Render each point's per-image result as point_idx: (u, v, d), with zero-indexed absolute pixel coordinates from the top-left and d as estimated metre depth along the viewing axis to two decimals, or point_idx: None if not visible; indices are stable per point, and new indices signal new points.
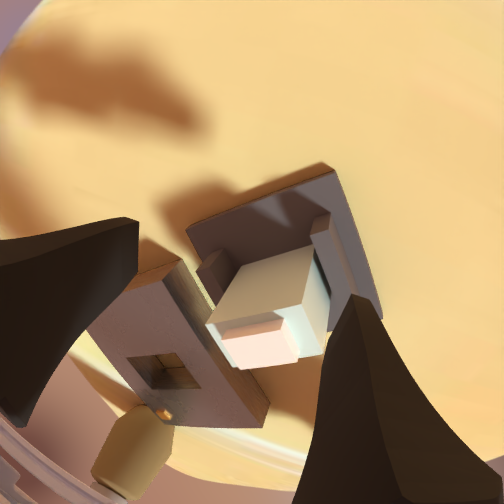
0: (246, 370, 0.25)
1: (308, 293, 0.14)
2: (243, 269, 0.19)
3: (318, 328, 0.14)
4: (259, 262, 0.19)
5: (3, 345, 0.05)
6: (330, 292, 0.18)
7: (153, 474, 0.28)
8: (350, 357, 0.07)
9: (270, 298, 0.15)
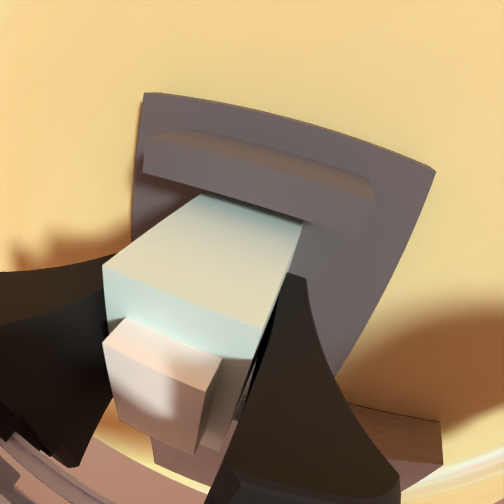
0: (367, 412, 0.14)
1: (155, 240, 0.06)
2: None
3: (218, 283, 0.06)
4: None
5: (62, 392, 0.05)
6: None
7: None
8: (269, 331, 0.07)
9: None
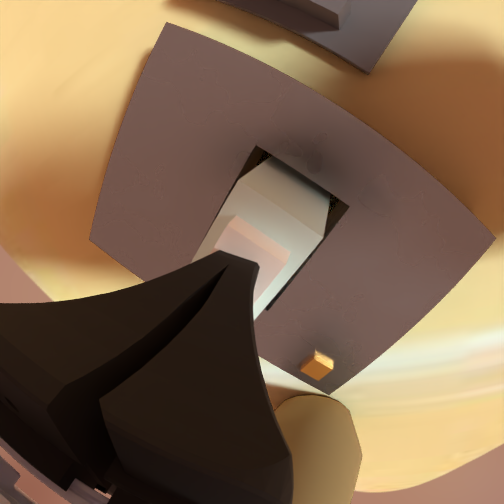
0: None
1: (259, 176, 0.10)
2: None
3: (298, 210, 0.10)
4: None
5: None
6: None
7: (344, 501, 0.13)
8: None
9: None
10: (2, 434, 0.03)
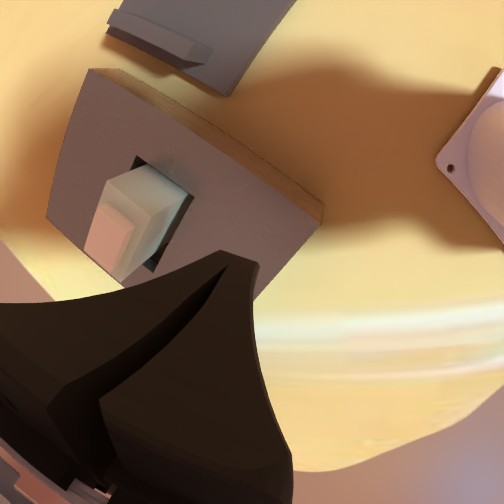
0: (251, 153, 0.17)
1: (127, 177, 0.15)
2: None
3: (144, 199, 0.14)
4: None
5: None
6: None
7: None
8: None
9: None
10: (2, 434, 0.03)
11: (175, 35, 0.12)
